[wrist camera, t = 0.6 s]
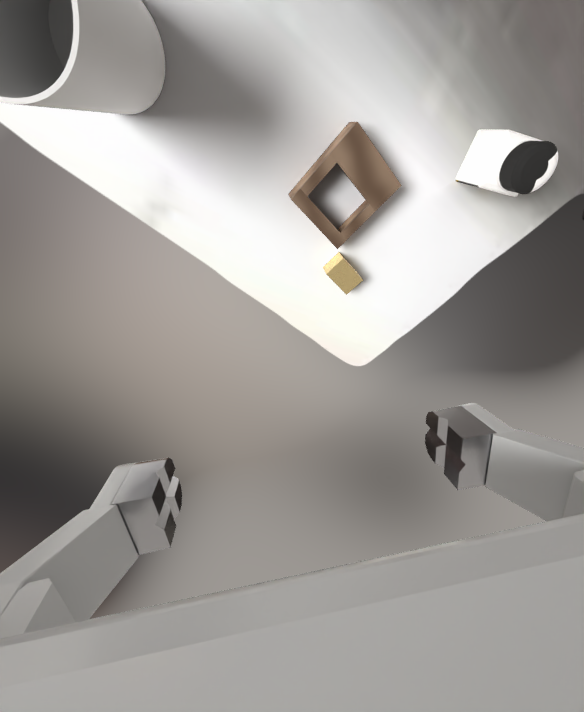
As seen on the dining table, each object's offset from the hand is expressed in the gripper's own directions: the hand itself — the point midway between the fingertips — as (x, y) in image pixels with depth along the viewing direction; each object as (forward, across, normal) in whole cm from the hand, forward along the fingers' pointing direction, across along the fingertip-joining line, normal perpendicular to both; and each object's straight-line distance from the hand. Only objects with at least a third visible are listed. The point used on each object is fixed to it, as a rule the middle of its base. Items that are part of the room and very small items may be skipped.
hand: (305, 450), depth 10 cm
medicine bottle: (+45, -39, -14) cm, 61 cm away
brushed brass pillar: (+51, -16, 0) cm, 53 cm away
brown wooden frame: (+47, -15, -13) cm, 51 cm away
